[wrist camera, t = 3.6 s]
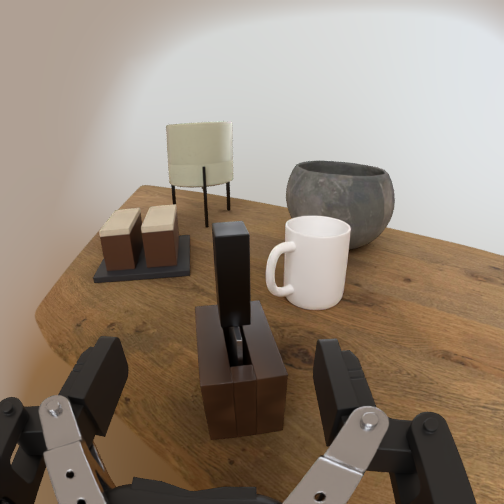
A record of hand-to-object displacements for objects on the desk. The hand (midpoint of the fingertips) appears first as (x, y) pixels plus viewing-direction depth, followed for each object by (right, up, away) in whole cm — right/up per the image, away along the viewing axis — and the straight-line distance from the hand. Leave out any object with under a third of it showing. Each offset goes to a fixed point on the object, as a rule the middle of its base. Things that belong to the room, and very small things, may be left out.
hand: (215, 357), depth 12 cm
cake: (-17, +3, +43) cm, 47 cm away
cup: (+8, -2, +31) cm, 32 cm away
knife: (0, -9, +15) cm, 18 cm away
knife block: (0, -9, +15) cm, 18 cm away
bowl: (+18, +6, +49) cm, 53 cm away
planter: (-11, +13, +66) cm, 68 cm away
